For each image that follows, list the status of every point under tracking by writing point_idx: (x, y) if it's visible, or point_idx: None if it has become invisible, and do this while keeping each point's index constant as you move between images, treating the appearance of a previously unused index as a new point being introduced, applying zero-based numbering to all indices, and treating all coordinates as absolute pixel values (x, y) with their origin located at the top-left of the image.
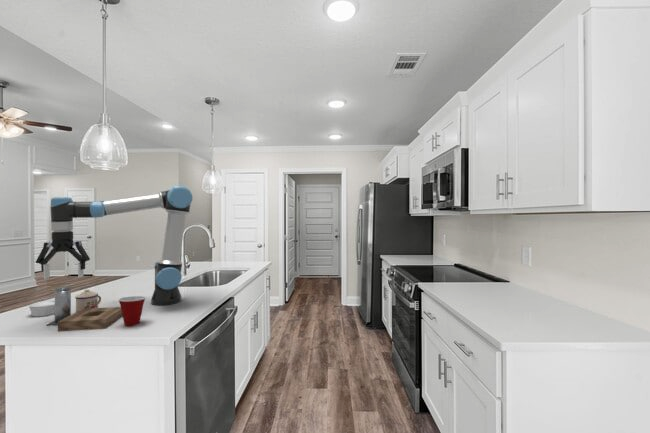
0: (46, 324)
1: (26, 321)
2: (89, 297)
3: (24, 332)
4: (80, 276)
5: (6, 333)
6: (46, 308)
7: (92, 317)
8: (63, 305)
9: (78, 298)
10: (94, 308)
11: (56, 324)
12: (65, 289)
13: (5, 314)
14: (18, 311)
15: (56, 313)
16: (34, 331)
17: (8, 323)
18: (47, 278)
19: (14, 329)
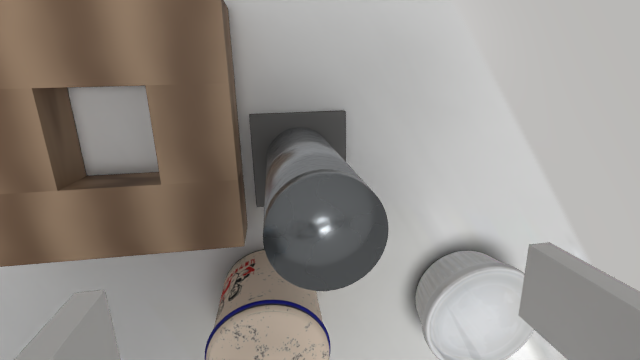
0: (345, 111)
1: (473, 190)
2: (224, 319)
3: (388, 23)
4: (70, 308)
5: (461, 24)
6: (449, 275)
7: (43, 52)
8: (283, 152)
9: (286, 302)
10: (175, 247)
11: (299, 112)
12: (276, 195)
13: None
14: None
15: (316, 137)
16: (349, 30)
17: (531, 171)
18: (524, 277)
19: (460, 79)
